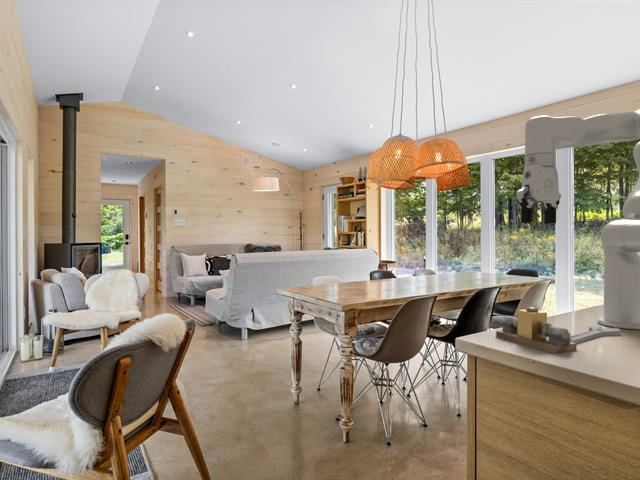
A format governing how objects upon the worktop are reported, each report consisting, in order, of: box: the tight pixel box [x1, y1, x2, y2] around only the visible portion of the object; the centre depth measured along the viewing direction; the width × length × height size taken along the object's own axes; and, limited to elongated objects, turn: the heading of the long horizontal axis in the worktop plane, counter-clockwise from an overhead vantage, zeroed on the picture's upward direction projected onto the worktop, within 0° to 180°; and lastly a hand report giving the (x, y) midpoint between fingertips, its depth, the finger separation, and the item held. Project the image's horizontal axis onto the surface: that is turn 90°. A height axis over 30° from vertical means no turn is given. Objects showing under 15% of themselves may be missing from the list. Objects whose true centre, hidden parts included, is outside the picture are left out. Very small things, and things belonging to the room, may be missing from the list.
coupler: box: [517, 306, 548, 340], centre depth 100 cm, size 4×4×7 cm
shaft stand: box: [495, 315, 578, 355], centre depth 100 cm, size 8×16×6 cm, turn 25°
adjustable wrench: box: [570, 325, 621, 344], centre depth 107 cm, size 25×6×2 cm, turn 118°
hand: (538, 223), depth 113 cm, fingers open, 9 cm apart
